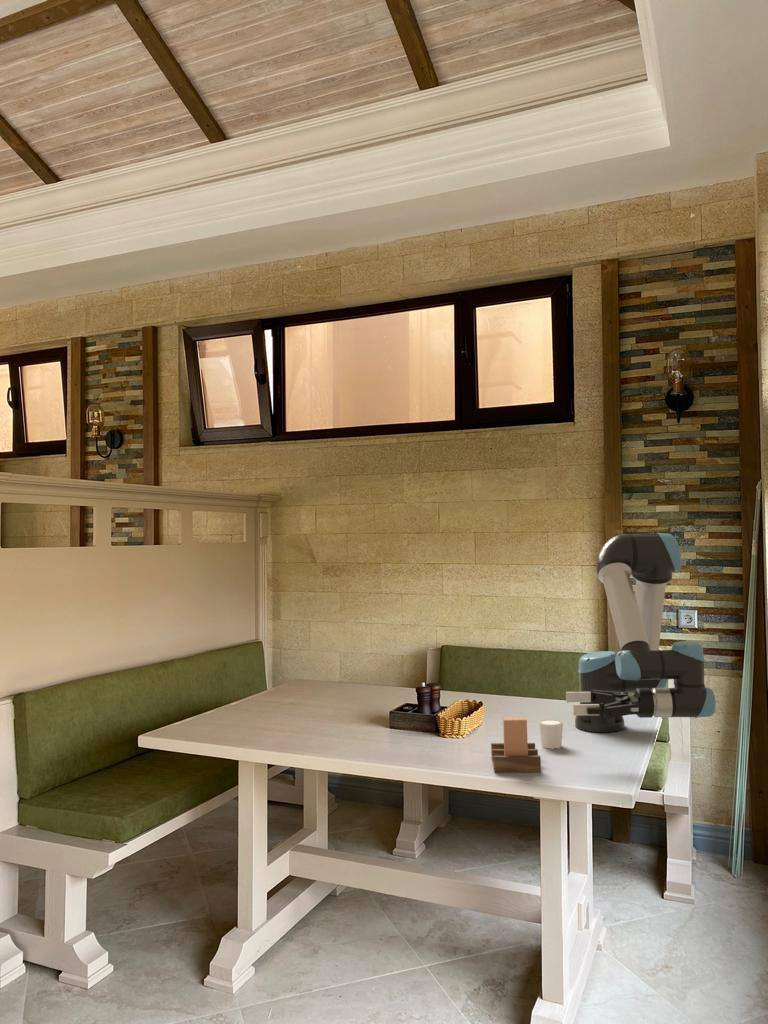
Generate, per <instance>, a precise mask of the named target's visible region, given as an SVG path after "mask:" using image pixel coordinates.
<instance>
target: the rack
mask: <svg viewBox="0 0 768 1024" xmlns="http://www.w3.org/2000/svg"><path fill="white" fill-rule="evenodd" d="M490 748H491V752H490V753H491V761H492V762H491V763H492V765H493V772H494V773H541V772H542V769H541V768H542V763H541V762H542V761H541V755H539V750H538V748H536V743H535V742H528V756H504V742H491V743H490Z"/></svg>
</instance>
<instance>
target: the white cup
mask: <svg viewBox="0 0 768 1024" xmlns="http://www.w3.org/2000/svg"><path fill="white" fill-rule="evenodd" d="M563 724H564V723H563V721H561V720H557V719H543V720H539V721H538V727H539V734H540V742H541V747H542V748H544V747H545V748H544V749H547V748H552V749H551V750H554V749H553V748H558V749H560V748H559V747H561V748H562V742H563V727H564V725H563Z"/></svg>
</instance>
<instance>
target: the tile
mask: <svg viewBox="0 0 768 1024" xmlns="http://www.w3.org/2000/svg"><path fill="white" fill-rule="evenodd" d="M502 724H503V725H502V727H503V743H504V756H528V743H529V742H528V721H527V717H525V716H524V717H521V716H520V717H502Z"/></svg>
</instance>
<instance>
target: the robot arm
mask: <svg viewBox="0 0 768 1024" xmlns="http://www.w3.org/2000/svg"><path fill="white" fill-rule="evenodd" d="M595 568H596V574H597V578H598V581H600V582H601V583H602V584H603V587H604V591H605V594H606V595H605V596H606V599H607V602H608V606H609V607H608V608H609V610H610V613H611V616H612V621H613V625H614V630H615V633H616V637H617V641H618V645H619V648H620V651H618V652H617V653H616V651H611V650H607V651H605V650H602V651H595V652H594V651H593V652H588V653H585V654H583V655H582V656H581V657H580V658H579V660H578V671H577V672H578V681H579V682H578V683H579V691H566V692H565V699H566V700H565V702H566V703H573V704H572V710H573V711H572V713H573V714H572V715H573V716H575V719H574V721H575V722H574V724H575V726H574V727H576V728H577V729H578V728H579V730H581V729H582V730H581V731H585V730H586V731H585V732H591V731H592V733H615V731H616V732H620V731H622V730H624V729H625V728H626V727H625V718H624V716H629V715H630V716H631V715H636V716H637V717H638V718H639V719H640V718H644V719H645V718H650V719H651V718H652V717H654V718H661V719H662V720H666V718H695V719H696V718H709V717H712V716H714V714H715V712H716V707H717V704H716V703H717V702H716V699H715V698H716V696H715V693H714V691H713V689H711V687H706V685H705V658H704V648H703V646H702V644H700V643H699V642H696V641H689V640H688V641H687V640H685V641H683V640H681V641H675V642H673V643H672V646H671V649H663V650H660V640H661V632H662V631H661V630H662V622H663V612H664V603H665V596H666V585H667V584H669V583H670V582H671V581H672V579H673V574H674V573H675V574H676V573H679V572H680V570H681V568H682V554H681V549H680V546H679V543H678V541H677V539H676V537H675V536H674V535H673V534H671V533H660V532H656V533H651V532H650V533H629V534H628V533H623V534H622V533H621V534H617V535H615V536H613V537H611V538H609V539H608V540H607V541H606V542H605V543H604V545H602V547H601V549H600V551H599V553H598V556H597V559H596V566H595ZM631 577H632V578H633V579H634V580H635V589H634V588H633V584H632V581H631ZM668 680H673V685H674V686H673V687H666V685H668V684H667V683H668ZM629 694H634V695H629ZM575 703H576V704H575Z"/></svg>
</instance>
